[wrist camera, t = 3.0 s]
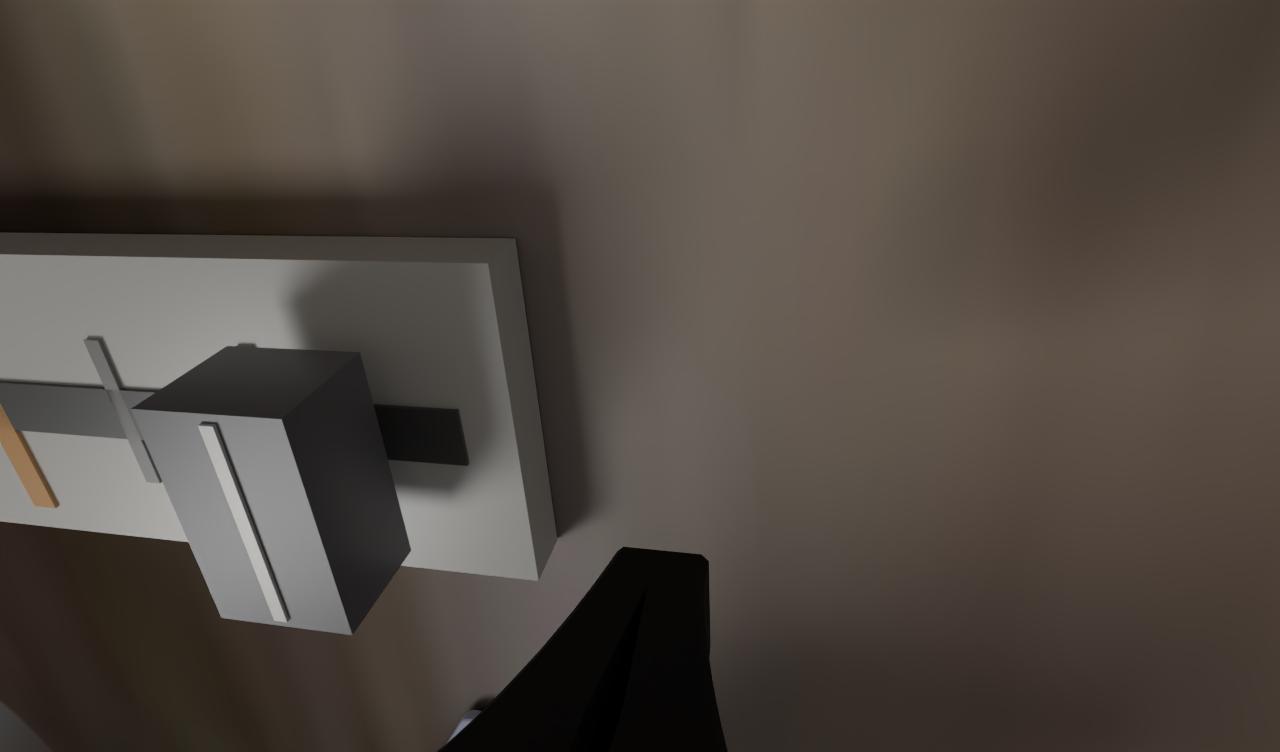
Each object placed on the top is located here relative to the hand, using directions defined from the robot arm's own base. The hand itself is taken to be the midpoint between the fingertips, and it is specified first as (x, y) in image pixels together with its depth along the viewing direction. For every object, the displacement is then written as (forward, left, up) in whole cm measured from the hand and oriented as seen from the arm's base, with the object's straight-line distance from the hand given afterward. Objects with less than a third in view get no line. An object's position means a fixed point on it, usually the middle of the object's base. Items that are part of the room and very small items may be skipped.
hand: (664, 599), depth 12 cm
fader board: (+12, +7, -6) cm, 15 cm away
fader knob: (+7, +4, -4) cm, 9 cm away
